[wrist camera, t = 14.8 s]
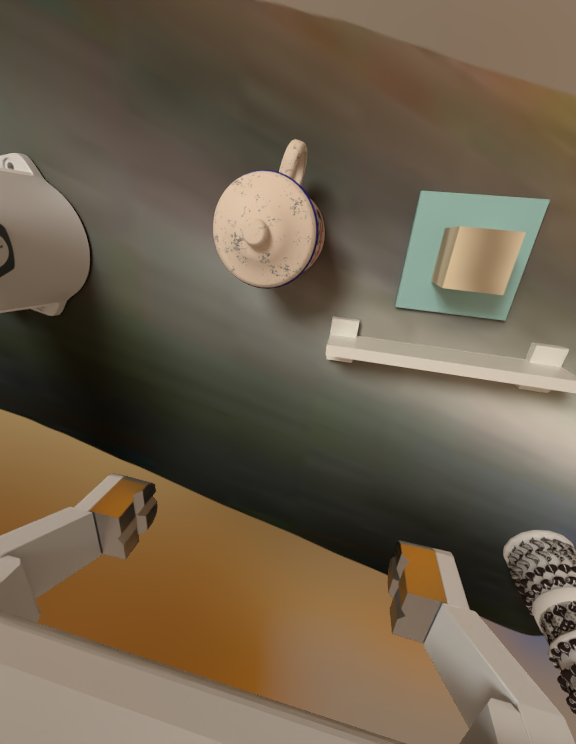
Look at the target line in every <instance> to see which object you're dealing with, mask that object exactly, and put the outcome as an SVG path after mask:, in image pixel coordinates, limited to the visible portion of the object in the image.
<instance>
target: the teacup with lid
mask: <svg viewBox="0 0 576 744" xmlns="http://www.w3.org/2000/svg"><path fill="white" fill-rule="evenodd" d="M306 163H307V147H306V145H305V143H304V142H302V141H300V140H296V139H295V140H292V141H291V142H290V144H289V145H288V147H287V149H286V151H285V154H284V156H283V159H282V163H281V166H280V170H279V172H277V171H271V170H258V171H253V172H250V173H247V174H245V175H243V176H241V177H239V178H238V179H236V180H235V181H234V182H233V183H232V184H231V185H230V186H229V187H228V188H227V189H226V190H225V192H224V193H223V195H222V196H221V198H220V200H219V202H218V204H217V207H216V210H215V214H214V221H213V235H214V241H215V245H216V249H217V251H218V254H219V256H220V258H221V260H222V262H223V263H224V265H225V266H226V267H227V269H228V270H229V271H230V272H231V273H232V274H233V275H234V276H235V277H237V278H238V279H239V280H241V281H242V282H244V283H246V284H248V285H251V286H254V287H258V288H268V289H269V288H277V287H281V286H284V285H286V284H288V283H290V282H292V281H293V280H295V279H296V278H297V277H299V276H300V275H301V274H302V273H303V272H304V271H305V270H307V269H308V268H309V267H310V266H311V265H312V264H313V263H314V262H315V261H316V259H317V258H318V256H319V254H320V252H321V250H322V247H323V244H324V238H325V227H324V221H323V218H322V215H321V213H320V210H319V209H318V207H317V205H316V204H315V203H314V202H313V201H312V199H310V197H309V196H308V194H307V193H306V191H305V190H304V189H303V188H302V187H301V185H302V181H303V178H304V174H305V169H306Z"/></svg>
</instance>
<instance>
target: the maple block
mask: <svg viewBox="0 0 576 744" xmlns="http://www.w3.org/2000/svg"><path fill="white" fill-rule="evenodd" d="M525 234H526V232H518V231H507V230H496V229H485V228H474V227H463V226H458V227H450V228H445V230H444V234H443V237H442V241H441V245H440V249H439V252H438V256H437V260H436V264H435V267H434V271H433V275H432V279H431V282H433V283H434V284H436V285H438V286H440V287H441V288H446V289H454V290H463V291H471V292H480V293H488V294H496V295H503V294H504V292H505V289H506V286H507V283H508V281H509V278H510V275H511V272H512V270H513V267H514V264H515V261H516V259H517V256H518V253H519V250H520V247H521V245H522V242H523V239H524V236H525Z"/></svg>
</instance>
